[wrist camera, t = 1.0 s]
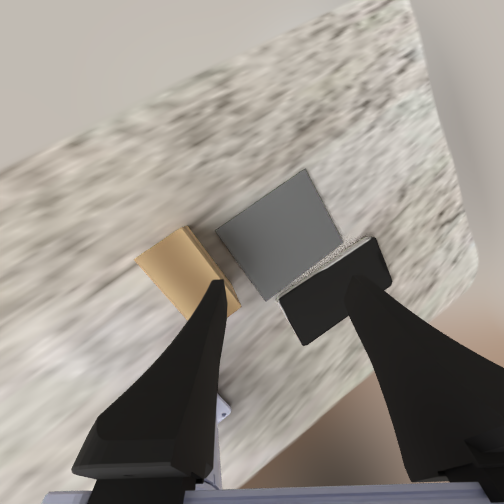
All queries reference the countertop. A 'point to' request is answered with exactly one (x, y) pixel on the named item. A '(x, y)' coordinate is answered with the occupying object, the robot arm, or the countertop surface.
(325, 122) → the countertop surface
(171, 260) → the oak slab
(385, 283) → the smartphone
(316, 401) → the countertop surface
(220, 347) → the robot arm
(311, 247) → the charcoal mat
